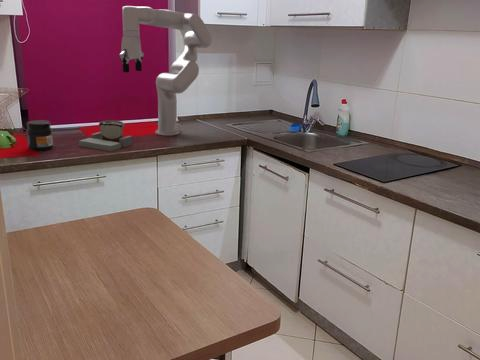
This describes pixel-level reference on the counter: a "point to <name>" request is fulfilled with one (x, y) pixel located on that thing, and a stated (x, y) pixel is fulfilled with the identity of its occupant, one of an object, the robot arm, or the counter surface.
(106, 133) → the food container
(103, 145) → the grey piece
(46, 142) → the supplement container
